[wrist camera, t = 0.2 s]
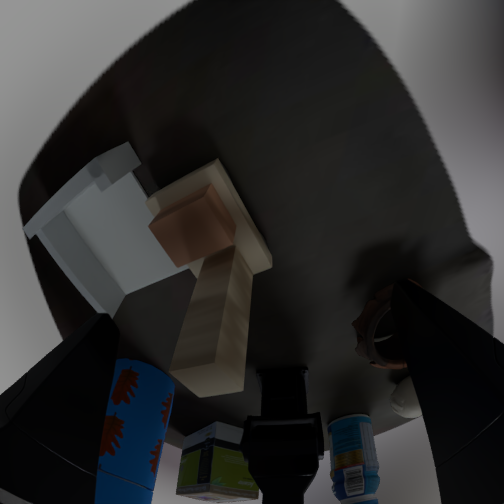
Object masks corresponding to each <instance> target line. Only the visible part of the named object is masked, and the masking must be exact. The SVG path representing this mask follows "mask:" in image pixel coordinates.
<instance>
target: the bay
mask: <svg viewBox="0 0 504 504" xmlns="http://www.w3.org/2000/svg"><path fill="white" fill-rule="evenodd" d="M141 164H142V163H141V162H140V160H139V158H138V157H137V155H136V154H135V152H134V150H133V149H132V147H131V145H130V144H129V142H126V143H124V144H122V145H120V146H117V147H115V148H113V149H111V150H109V151H107V152H105V153H103V154H101V155H99V156H97V157H95V158H94V159H93V160H92V161H90V162H89V163H88V164H87V165H86V166H85V167H83V168H82V169H81V170H80V171H79V172H78V173H77V174H76V175H75V176H73V177H72V178H71V179H70V180H69V181H68V182H67V183H66V184H65V185H64V186H63V187H62V188H61V189H60V190H59V191H58V192H57V193H56V194H54V195H53V196H52V197H51V198H50V200H49V201H48V202H47V203H46V204H45V205H44V206H43V207H42V208H41V209H40V210H39V211H38V212H37V213H36V214H35V215H34V216H33V217H32V219H31V220H30V221H29V222H28V223H27V224H26V225H25V226H24V228H23V230H24V232H25V233H26V235H27V236H28V238H29V239H31V238H32V237H33V236H34V235H35V234H36V235H37V236H38V237H39V239H40V240H41V242H42V243H43V245H44V246H45V248H46V249H47V250H48V252H49V253H50V255H51V256H52V257H53V259H54V260H55V261H56V263H57V264H58V265H59V267H60V268H61V269H62V270H63V272H64V273H65V274H66V276H67V277H68V278H69V279H70V281H71V282H72V283H73V284H74V285H75V287H76V288H77V289H78V290H79V292H80V293H81V294H82V295H83V296H84V297H85V299H86V300H87V301H88V302H89V303H90V304H91V305H92V307H93V308H94V309H95V310H96V311H97V312H98V313H108V314H109V315H110V316H111V318H113V317H114V315H115V313H116V311H117V309H118V308H119V306H120V304H121V302H122V300H123V299H124V297H125V295H126V294H128V293H131V292H133V291H136V290H138V289H140V288H143V287H145V286H147V285H150V284H152V283H155V282H157V281H159V280H162V279H164V278H167V277H169V276H171V275H174V274H176V273H179V272H181V271H183V270H186V269H188V268H189V267H188V266H187V264H186V265H183V266H181V267H179V268H177V267H176V266H175V264H174V263H173V262H172V260H171V259H170V257H169V256H168V255H167V253H166V252H165V250H164V249H163V248H162V246H161V245H160V243H159V242H158V241H157V239H156V238H155V236H154V235H153V233H152V232H151V230H150V229H149V228H148V225H149V224H150V223H151V221H152V220H153V219H154V216H153V215H152V213H151V212H150V210H149V209H148V207H147V206H146V204H145V203H144V202H145V201H146V200H147V199H148V198H149V197H148V195H147V194H146V192H145V191H144V189H143V187H142V186H141V184H140V183H139V181H138V180H137V178H136V176H135V175H134V173H133V172H132V170H133V169H135V168H136V167H138V166H139V165H141Z"/></svg>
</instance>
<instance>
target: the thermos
mask: <svg viewBox="0 0 504 504" xmlns="http://www.w3.org/2000/svg"><path fill="white" fill-rule="evenodd" d="M174 392H175V384H174V383H173V381H172V380H171V378H170V377H168V376H167V375H166V374H165V373H164V372H162V371H161V370H159V369H157V368H155V367H154V366H152V365H149V364H147V363H144V362H141V361H139V360H133V359H128V358H125V359H117V360H116V365H115V372H114V377H113V382H112V387H111V391H110V396H109V401H108V406H107V411H106V417H105V422H104V428H103V434H102V440H101V447H100V454H99V462H98V470H97V481H96V493H95V504H151V501H152V496H153V492H152V491H153V490H154V486H155V481H156V476H157V472H158V466H159V462H160V458H161V453H162V448H163V444H164V440H165V435H166V431H167V427H168V422H169V418H170V414H171V409H172V403H173V398H174Z"/></svg>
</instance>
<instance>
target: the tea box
mask: <svg viewBox="0 0 504 504" xmlns="http://www.w3.org/2000/svg"><path fill="white" fill-rule="evenodd" d="M242 435H243V428H239V427H236V426H232V425H229V424H225V423H222V422H218V421H216V422H214V423H212V424H210V425H209V426H207V427H205V428H203V429H201V430H199V431H197V432H195V433H193V434H191V435H189V436H187V437H184V443H183V449H182V456H181V463H180V468H179V475H178V482H177V489H176V495H181V496H185V497H189V498H193V499H198V500H203V501H210V502H217V503H222V502H236V501H246V500H255V499H258V495H259V487H258V486H257V484H256V483H255V481H254V479H253V478H252V476H251V474H250V473H249V471H248V463H246V462H245V461H244V457H243V454H242V453H241V452H240V451H239V445H240V442H241V438H242Z"/></svg>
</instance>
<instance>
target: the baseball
mask: <svg viewBox="0 0 504 504" xmlns="http://www.w3.org/2000/svg"><path fill="white" fill-rule="evenodd" d="M390 403H391V407H392V409H393V410H394V411H395V412H396V413H397V414H399V415H401V416H402V417H405V418H415V417H419V416H421V415H422V412H421V408H420V405H419V402H418V398H417V395H416V392H415V389H414V386H413V382H412V379H411V376H408V377H406V378H405V379H403V380H402V381H401V382H400V383H399V384H398V385H397V386H396V388H395V390H394V391H393V393H392V394H391V396H390Z"/></svg>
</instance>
